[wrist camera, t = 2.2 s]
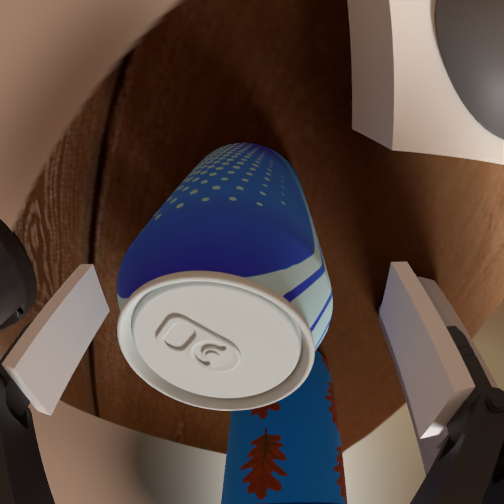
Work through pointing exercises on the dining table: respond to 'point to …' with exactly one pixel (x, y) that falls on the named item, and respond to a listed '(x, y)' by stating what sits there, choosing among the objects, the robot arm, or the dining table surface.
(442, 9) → the white block with disc
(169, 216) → the beer can
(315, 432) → the thermos
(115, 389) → the dining table surface
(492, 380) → the water bottle
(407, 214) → the dining table surface
